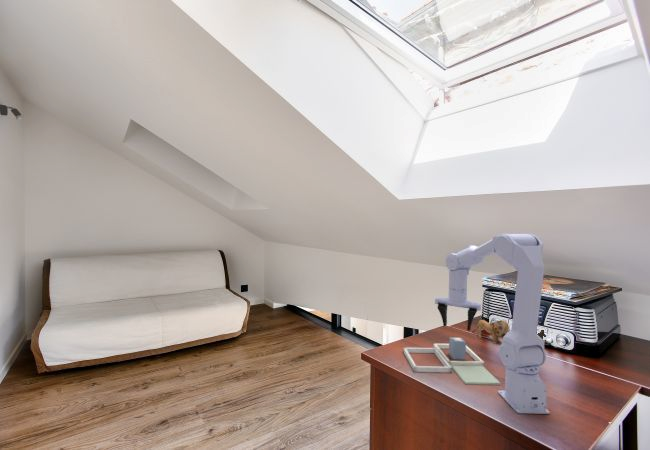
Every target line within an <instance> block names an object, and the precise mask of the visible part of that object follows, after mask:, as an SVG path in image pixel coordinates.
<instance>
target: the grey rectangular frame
mask: <svg viewBox="0 0 650 450" xmlns="http://www.w3.org/2000/svg"><path fill="white" fill-rule="evenodd" d="M402 352H403V353H404V355H405V358H406V359H407V361H408V363H409V365H410V366H411V368H412V370H413V371H414V373H448V374H449V373H453V369H452V367H451V366H450V365H449V363H448V362H447V361H446V360H445V359H444V357H443V356H442V355H441V354H440V352H439V351H438V350H437V349H436V348H433V347H403V348H402ZM410 353H411V354H434V355H435V356H436V358H437V359H438V360H439V361H440V362H441V364H442V365H443V366H436V365H433V366H431V365H430V366H429V365H426V366H425V365H420V366H419V365H416V363H415V361H414V360H413V358H412V356H411V354H410Z"/></svg>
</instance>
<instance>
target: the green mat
mask: <svg viewBox="0 0 650 450" xmlns="http://www.w3.org/2000/svg"><path fill="white" fill-rule="evenodd" d="M452 371H453V372H455V374H456V375H457V376H458V378H460V380H461V381H462V382H463V383H464V384H465V385H486V386H487V385H488V386H490V385H492V386H497V385H498V386H499V385H501V382H500V381H499V380H498V379H497V378H496V377H495V376H494V375H493V374H492V373H490V371H488V369H486V367H485V366H484V367H483V366H452Z"/></svg>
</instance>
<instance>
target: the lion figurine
mask: <svg viewBox="0 0 650 450" xmlns="http://www.w3.org/2000/svg"><path fill="white" fill-rule="evenodd" d="M510 328H511V327H510V325H509V323H508V322H507V320H503V319H501V320H498V321H493V322H492V323H490V322H488V321H486V320H485V319H480V320H478V322H477V325H476V327H475V329H474V330H471V332H472V333H476V331H477V334H478V338H480V339H481V338H483V336H482V334H483V333H482V331H483V330H484V331H486V333H489V334H491V336H492V343H493V344H497V343H499V342H500V340H499V337H503V336H504V335H506V334H507V333H508V332H509V331H510Z"/></svg>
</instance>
